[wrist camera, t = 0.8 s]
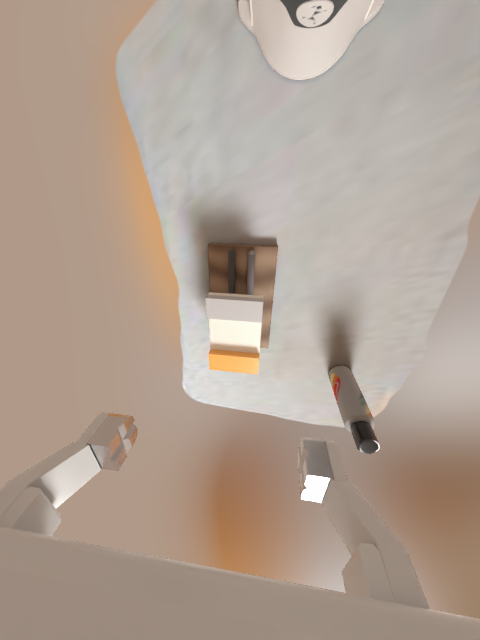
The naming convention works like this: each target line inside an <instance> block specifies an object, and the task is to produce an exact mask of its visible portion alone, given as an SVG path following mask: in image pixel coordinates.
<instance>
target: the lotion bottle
mask: <svg viewBox="0 0 480 640" xmlns="http://www.w3.org/2000/svg"><path fill="white" fill-rule="evenodd" d="M329 379H330V382H331V385H332V388H333V392H334V395H335V398H336V401H337V404H338V407H339V410H340V413H341V417H342V420H343V423H344V426H345V428H346V429H347V430H348V431H350V432H352V435H353V438H354V440H355V443H356V446H357V449H358V450H360V451H361V452H363V453H365V454H371V453H374V452H376V451H378V450H379V448H380V445H379V443H378V440H377V438H376V436H375V433H374V431H373V428H374V426H375V422H374V419H373V417H372V414H371V412H370V410H369V408H368V406H367V403H366V401H365V399H364V397H363V395H362V393H361V390H360V388H359V386H358V384H357V382H356V380H355V378H354V375H353V373H352V371H351V370H350V369H349V368H348V367H346V366H336V367H334V368H332V369H331V370H330V372H329Z"/></svg>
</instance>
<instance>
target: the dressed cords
mask: <svg viewBox="0 0 480 640" xmlns="http://www.w3.org/2000/svg"><path fill="white" fill-rule="evenodd" d="M254 271H255V251H254V250H250V251H249V252H248V275H247V295H253V290H254ZM228 289H229V294H235V250H234V249H230V250H229V251H228Z"/></svg>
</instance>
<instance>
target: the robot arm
mask: <svg viewBox="0 0 480 640" xmlns="http://www.w3.org/2000/svg"><path fill="white" fill-rule="evenodd" d="M383 3H384V0H239V1H238V13H239V17H240V20H241V21H242V23H243V24H244V25H245V26H246V27H247V28H248V29H249V30H250V31H251V32H252V33H253V34H254V35H255V37H256V39H257V41H258V43H259V45H260V48H261V50H262V53H263V55H264V56H265V58H266V60H267V61H268V63H269V64H270V65H271V67H272V68H273V69H274V70H275V71H277V72H278V73H279V74H281V75H282V76H284V77H287V78H290V79H294V80H305V79H310V78H313V77H316V76H318V75H320V74H322V73H323V72H325V71H326V70H328V69H329V68H330V67H331V66H332V65H334V64H335V63H336V62H337V61H338V59H339V58H340V57H341V56H342V55H343V53H344V52H345V51H346V49H347V48H348V46H349V45H350V43H351V41H352V40H353V38H354V37H355V35H356V34H357V32H358V31H359V30H360V28H362V27H363V26H364V25H365V24H366V23H368V22H369V21H370V20H371V19H372V18H373V17H374V16H375V15H376V14H377V13H378V12H379V11H380V9H381V7H382V5H383ZM133 422H134V418H133V416H128V415H121V414H114V413H106V412H102V413H100V414H99V415H98V416H97V417H96V418H95V420H94V421H93V422H92V423H91V424H90V426H89V427H88V428H87V429H86V431H85V432H84V433H83V434H82V435H81V437H80V438H79V439H78V440H77V441H76V443H71V444H69V445H68V446H66V447H64V448H63V449H61V450H59V451H58V452H56V453H54V454H53V455H51V456H50V457H48V458H46V459H45V460H43V461H41V462H40V463H38V464H36V465H35V466H33V467H31V468H30V469H28V470H26V471H25V472H23V473H22V474H20V475H18V476H17V477H15V478H13V479H12V480H10V481H8V482H7V484H6V485H5V486H4V487H3V488H2V489H1V490H0V640H480V619H478V618H472V617H467V616H462V615H457V614H452V613H446V612H441V611H436V610H431V609H429V606H428V603H427V601H426V598H425V595H424V593H423V591H422V588H421V585H420V583H419V580H418V578H417V575H416V572H415V570H414V567H413V564H412V562H411V559H410V557H409V554H408V552H407V549H406V548H405V547H404V545H403V544H402V543H401V542H400V541H399V539H398V538H397V537H396V536H395V534H394V533H393V532H392V531H391V529H390V528H389V527H388V526H387V525H386V523H385V522H384V521H383V520H382V519H381V517H380V516H379V515H378V514H377V512H376V511H375V510H374V509H373V508H372V506H371V505H370V504H369V503H368V501H367V500H366V499H365V498H364V496H363V495H362V494H361V493H360V492H359V490H358V489H357V488H356V487H355V486H354V484H353V483H352V482H348V479H347V475H346V472H345V468H344V465H343V461H342V457H341V453H340V450H339V446H338V443H337V442H336V441H331V440H324V439H316V438H307V437H301V440H300V446H301V447H299V448H298V457H297V460H298V471H299V472H300V474H301V476H300V480H299V484H300V493H301V499H305V500H310V501H316V502H321V503H322V506H323V507H324V509H325V511H326V513H327V514H328V516H329V518H330V520H331V521H332V523H333V525H334V526H335V528H336V530H337V532H338V533H339V535H340V537H341V538H342V540H343V542H344V543H345V545H346V547H347V549H348V550H349V552H350V554H351V556H352V557H351V559H350V560H349V561H348V563H347V564H346V566H345V568H344V569H343V571H342V575H343V580H344V586H345V590H346V593H343V592H337V591H333V590H327V589H322V588H317V587H312V586H307V585H301V584H296V583H291V582H286V581H281V580H276V579H270V578H265V577H260V576H255V575H249V574H245V573H239V572H234V571H229V570H224V569H219V568H213V567H208V566H203V565H198V564H193V563H188V562H182V561H177V560H172V559H167V558H162V557H156V556H151V555H146V554H140V553H135V552H131V551H125V550H120V549H115V548H110V547H105V546H100V545H94V544H89V543H84V542H79V541H74V540H69V539H63V538H58V537H53V536H52V534H53V533H54V531H55V530H56V528H57V527H58V525H59V524H60V522H61V520H62V516H61V515H60V514H59V512H58V511H57V510H56V508H57V507H58V506H60V505H61V504H62V503H63V502H64V501H65V500H67V499H68V498H69V497H70V496H71V495H72V494H74V493H75V492H76V491H77V490H78V489H79V488H81V487H82V486H83V485H84V484H85V483H86V482H88V481H89V480H90V479H91V478H92V477H93V476H95V475H96V474H97V473H98V472H99V471H100V470H101V469H108V470H116V471H118V470H119V469H120V467H121V465H122V464H123V462H124V460H125V458H126V456H127V453H126V451H127V450H128V449H130V448H131V447H132V446H133V444H134V443H135V440H136V437H137V427H136V426H135V425H134V424H133Z"/></svg>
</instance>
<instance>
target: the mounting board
mask: <svg viewBox="0 0 480 640" xmlns="http://www.w3.org/2000/svg"><path fill="white" fill-rule="evenodd" d="M230 249H234V250H235V294H243V295H247V275H248V252H249V251H250V250H254V251H255V271H254V290H253V295H259V296H264V299H263V313H262V326H261V339H260V348H268V345H269V334H270V324H271V314H272V304H273V293H274V283H275V273H276V262H277V252H278V246H259V245H236V244H212V243H210V244H208V258H209V279H210V292H213V293H228V294H229V289H228V251H229V250H230Z"/></svg>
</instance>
